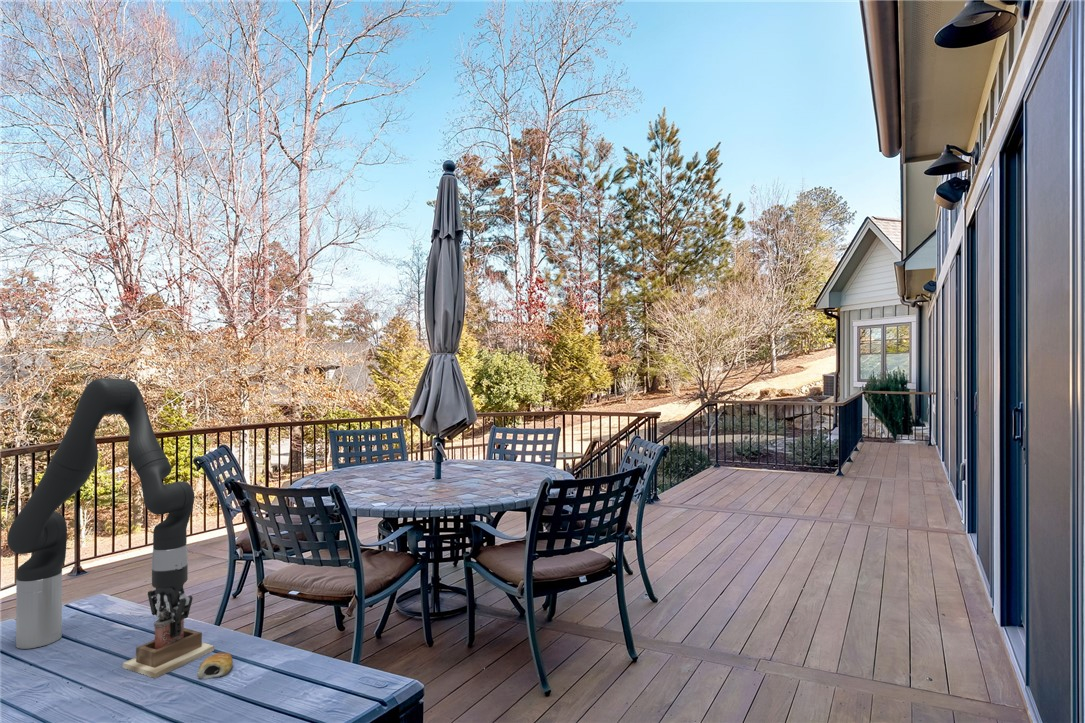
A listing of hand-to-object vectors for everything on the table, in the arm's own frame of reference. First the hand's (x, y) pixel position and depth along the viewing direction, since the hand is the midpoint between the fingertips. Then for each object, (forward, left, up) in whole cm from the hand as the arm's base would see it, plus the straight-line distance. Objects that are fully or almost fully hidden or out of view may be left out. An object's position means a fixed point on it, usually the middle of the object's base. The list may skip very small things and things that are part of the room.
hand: (169, 634), depth 148 cm
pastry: (+16, +1, -7) cm, 17 cm away
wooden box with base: (0, 0, -6) cm, 6 cm away
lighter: (0, 0, -4) cm, 4 cm away
